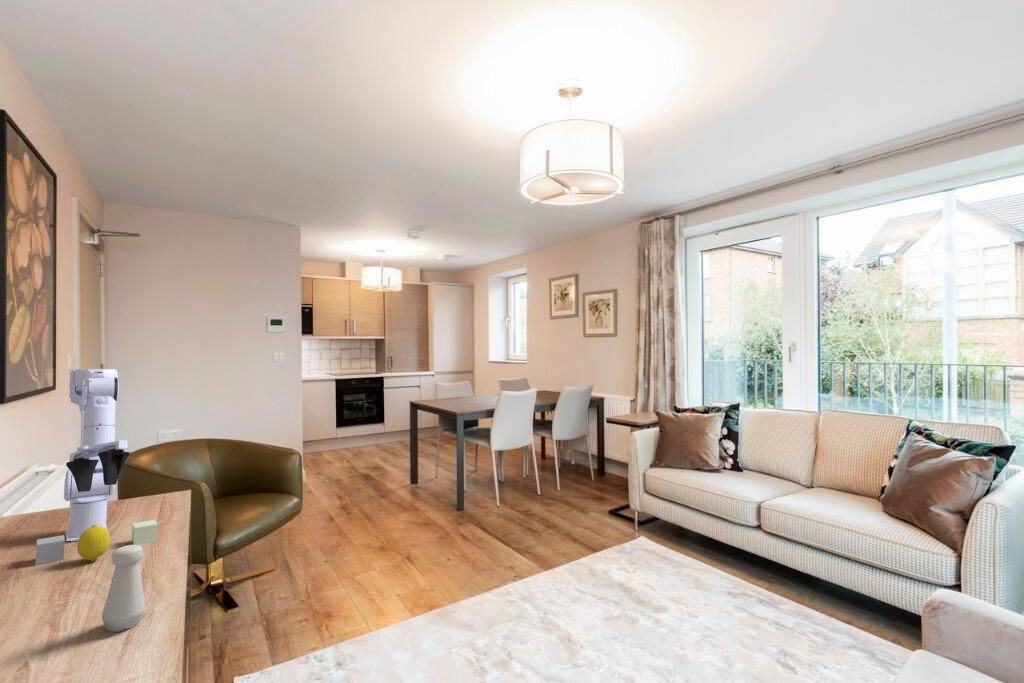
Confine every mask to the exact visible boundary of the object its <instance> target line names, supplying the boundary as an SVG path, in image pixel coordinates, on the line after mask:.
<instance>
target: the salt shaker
mask: <svg viewBox="0 0 1024 683" xmlns="http://www.w3.org/2000/svg"><path fill="white" fill-rule="evenodd" d="M110 557H111V564H112V565H115V567H114V570H113V574H112V579H111V583H110V586H109V590H108V594H107V596H106V597H107V598H106V599H105V604H104V607H103V610H102V613H101V619H102V623H103V625H104V626H105V628H106V630H107V631H108V632H113V633H119V632H122V630H123V631H126V630H125V629H127V630H129V629H128V628H131V629H132V628H134V627H135V626H136V625H138V624H139V623H140V621H141V619H142V617H143V615H144V613H145V610H146V602H145V594H144V589H143V588H144V587H143V581H142V575H141V570H140V569H141V568H140V560H142V559H143V557H144V548H143V546H142V545H133V544H128V545H124V546H121V547H118V548H116V549H115V550H114V551H113V552H112V554H111V556H110ZM138 622H139V623H138ZM137 623H138V624H137ZM135 624H136V625H135ZM134 625H135V626H134ZM133 626H134V627H133Z"/></svg>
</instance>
